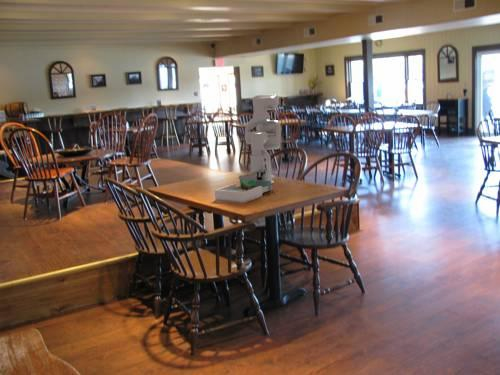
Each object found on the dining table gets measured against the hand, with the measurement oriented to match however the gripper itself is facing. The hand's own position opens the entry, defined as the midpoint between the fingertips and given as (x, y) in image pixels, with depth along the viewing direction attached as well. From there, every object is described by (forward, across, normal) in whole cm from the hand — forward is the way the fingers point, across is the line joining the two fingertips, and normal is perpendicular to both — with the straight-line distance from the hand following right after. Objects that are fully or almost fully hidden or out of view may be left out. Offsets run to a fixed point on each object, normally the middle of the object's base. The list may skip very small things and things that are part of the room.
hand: (259, 183), depth 312 cm
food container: (+3, -1, +11) cm, 12 cm away
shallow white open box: (+5, 0, +21) cm, 21 cm away
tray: (+4, 0, +11) cm, 12 cm away
